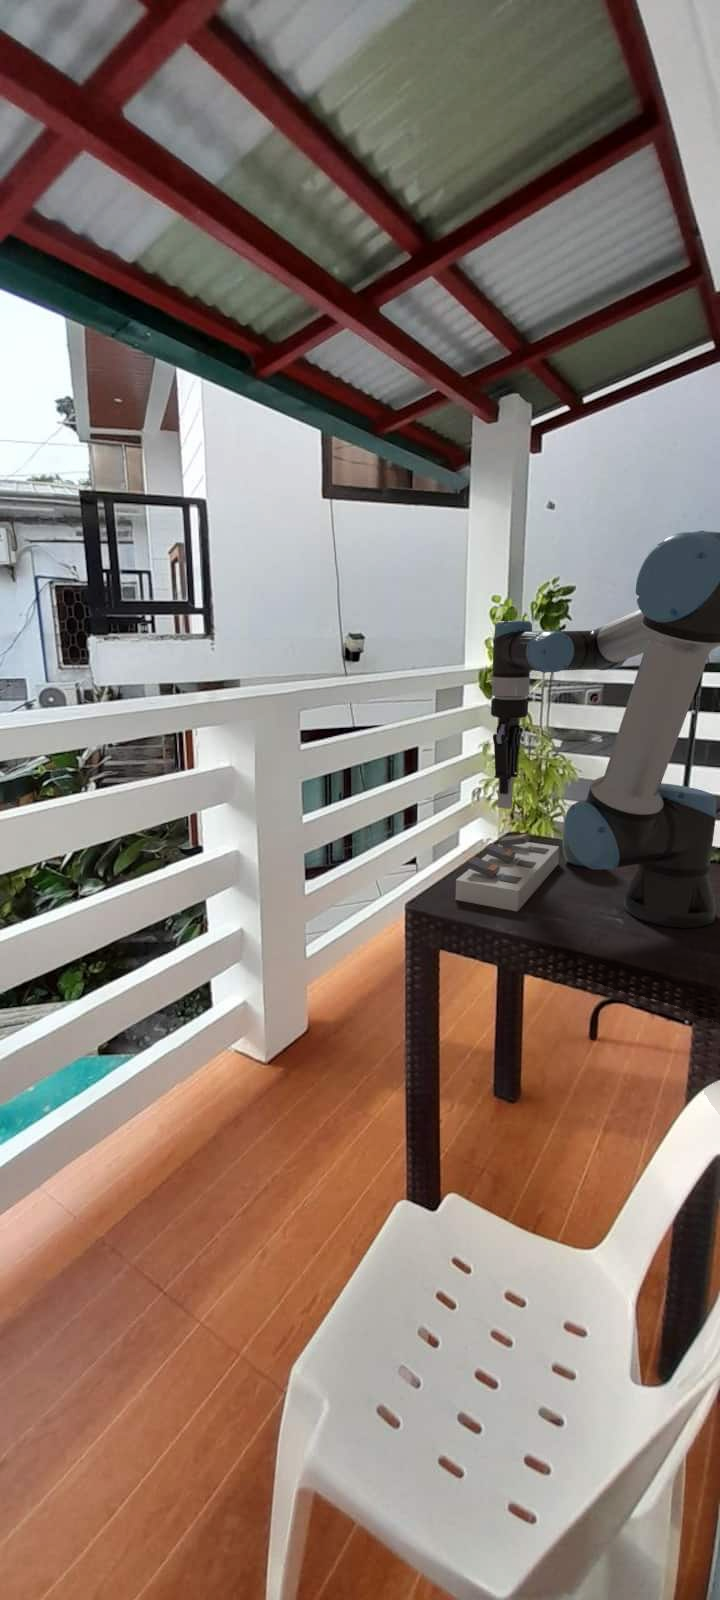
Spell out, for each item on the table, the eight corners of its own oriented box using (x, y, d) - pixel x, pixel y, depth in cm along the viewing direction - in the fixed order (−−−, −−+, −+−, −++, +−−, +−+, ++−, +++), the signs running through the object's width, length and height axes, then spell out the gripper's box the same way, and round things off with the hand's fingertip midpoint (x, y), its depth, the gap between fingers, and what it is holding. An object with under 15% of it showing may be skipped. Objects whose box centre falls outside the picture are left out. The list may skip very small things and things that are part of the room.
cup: (586, 871, 148) (590, 826, 146) (554, 862, 154) (557, 818, 151) (605, 863, 153) (608, 819, 151) (573, 855, 159) (576, 812, 156)
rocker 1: (498, 872, 135) (500, 866, 134) (492, 878, 132) (494, 872, 131) (472, 861, 137) (474, 855, 137) (465, 867, 134) (467, 860, 134)
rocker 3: (529, 839, 151) (528, 833, 151) (525, 843, 148) (523, 837, 148) (505, 841, 154) (504, 835, 154) (500, 846, 151) (498, 840, 151)
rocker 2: (514, 858, 143) (516, 852, 143) (508, 863, 140) (510, 857, 140) (489, 847, 145) (490, 842, 145) (483, 852, 142) (485, 846, 142)
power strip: (567, 853, 160) (568, 835, 159) (517, 911, 127) (518, 889, 126) (516, 845, 166) (517, 828, 165) (455, 899, 133) (456, 878, 132)
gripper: (502, 694, 152) (497, 799, 158) (481, 699, 141) (477, 812, 147) (536, 695, 149) (530, 802, 154) (518, 701, 138) (512, 816, 143)
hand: (504, 807), depth 151 cm, fingers closed
